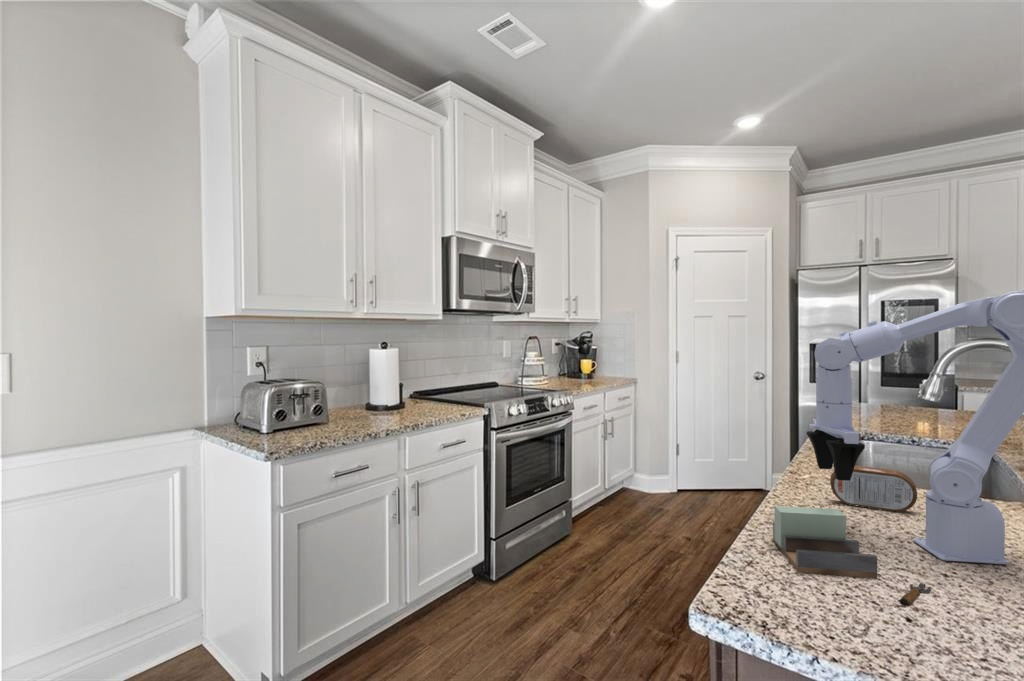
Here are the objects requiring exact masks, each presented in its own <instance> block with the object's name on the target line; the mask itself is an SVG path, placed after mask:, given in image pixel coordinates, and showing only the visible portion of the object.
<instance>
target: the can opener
mask: <svg viewBox="0 0 1024 681" xmlns="http://www.w3.org/2000/svg"><path fill="white" fill-rule="evenodd" d="M909 587H910V588H911V589H910V590H909V591H908V592H907V593H905V594H904V595H903V596H902V597H901V598H900V599H899V603H900V605H903V606H906V607H909V606H910V605H912V604H913V603H915V600H916V599H917V598H918V597H919V596H920V595H921V593H922V594H926V595H930V593H931V591H932V589H933V588H932V587H931V585H930V586H928V587H927V588H926V589H924V587H926V583H924V582H919V584H918V586H917V587H915V586H914V584H911V583H910V584H909Z"/></svg>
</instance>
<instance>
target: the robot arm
mask: <svg viewBox="0 0 1024 681" xmlns="http://www.w3.org/2000/svg"><path fill="white" fill-rule="evenodd" d="M988 325H989V326H990V327H991V328H992V329H993V330H994V331H995V332H996V333H998V334H999V335H1000V336H1001V337H1003V340H1004V341H1005V343H1006V345H1007V347H1008V349H1009V351H1010V352H1011V354H1012V359H1011V360H1010V362H1009V363H1008V365H1006V367H1005V369H1004V370H1003V372H1002V373H1001V374H1000V376H999V378H998V379H997V380H996V382H995V384H993V386H992V387H991V390H990V391H989V392H988V394H987V395H986V397H985V398H984V399H983V401H982V403H981V404H980V406H978V408H977V410H976V412H974V414H973V416H972V417H971V419H970V420H969V422H968V423H967V425H966V426H965V428H964V430H962V432H961V434H960V435H959V437H957V439H956V440H955V441H954V442H953V443H952V444H951V445H950V446H949V448H948V449H947V451H945V452H944V453H943V454H941V455H938V456H937V457H935V458H934V459H932V461H931V462H930V463H929V465H928V475H929V485H930V488H931V489H929V490H926V491H925V538H920V537H919V538H918V537H917V538H916V537H914V538H913V541H912V542H915V543H916V544H917V545H919V546H920V547H922V548H923V549H925V550H926V551H927V552H929V553H930V554H931V555H934V556H935V557H936V558H938V559H940V560H941V561H949V562H965V563H966V562H967V563H979V564H981V563H982V564H993V565H994V564H995V565H1009V561H1008V560H1007V559H1006V558H1005V554H1006V552H1005V551H1006V549H1005V548H1006V547H1005V546H1006V545H1005V544H1006V543H1005V542H1006V541H1005V538H1006V536H1005V535H1006V533H1005V532H1006V531H1005V530H1006V524H1005V520H1004V516H1003V513H1002V512H1001V510H1000V508H998V506H996V504H994V503H993V502H990V501H984V500H983V499H982V498H981V497H980V496H981V494H982V489H983V486H982V483H983V478H984V476H985V475H986V474H987V472H988V470H989V468H990V464H991V461H992V458H993V457H994V455H995V454H996V452H997V451H998V450H999V448H1000V446H1001V445H1002V444H1003V442H1004V441H1005V440H1006V438H1007V437H1008V435H1009V434H1010V432H1011V431H1012V430H1013V429H1014V427H1015V425H1016V424H1017V422H1018V421H1019V420H1020V418H1021V417H1022V415H1024V290H1015V291H1009V292H1007V293H1004V294H1002V295H999V296H997V297H996V295H994V296H988V297H982V298H977V299H974V300H968V301H963V302H960V303H958V304H954V305H952V306H949V307H945V308H943V309H939V310H937V311H934V312H931V313H928V314H926V315H923V316H920V317H916V318H913V319H911V320H908V321H905V322H901V323H899V324H894V323H891V322H888V321H886V320H884V321H880V322H878V321H877V320H873V321H870V322H868V323H867V326H865V327H862V328H859V329H857V330H853V331H852V330H851V331H850V332H846V331H842V332H839V334H838V335H839V338H838V337H828V338H826V339H824V340H823V341H821V342H819V343H818V345H817V346H816V347H815V349H814V359H815V361H816V362H817V365H816V366H817V367H816V379H815V380H816V382H815V392H816V393H815V394H816V395H815V405H816V406H815V407H816V408H815V414H816V415H815V418H812V423H810V424H808V426H809V428H810V429H812V431H809V430H808V431H806V436H807V437H808V438H809V440H810V443H811V446H812V447H813V451H814V456H815V458H816V462H817V467H818V468H819V470H832V469H833V472H835V476H836V479H837V480H846V481H850V480H851V477H852V473H853V470H854V467H855V465H856V464H857V461H858V459H859V457H860V455H861V454H862V453H863V451H864V450H865V448H866V445H865V443H862V442H859V441H860V437H859V435H860V433H859V432H857V431H856V430H855V427H854V426H853V378H852V376H851V375H852V373H851V372H852V370H851V368H852V367H851V365H852V364H851V363H852V362H857V363H863V362H866V361H869V360H872V359H873V360H874V359H876V358H879V357H883V356H886V355H890V354H894V353H897V352H899V351H900V350H901V348H902V347H903V345H904V343H905V342H906V341H910V340H913V339H917V338H920V337H924V336H927V335H931V334H934V333H937V332H938V333H939V332H941V331H947V330H949V329H953V328H956V327H960V326H966V327H968V326H969V327H988ZM850 364H851V365H850ZM813 430H814V431H813Z"/></svg>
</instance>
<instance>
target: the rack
mask: <svg viewBox="0 0 1024 681" xmlns="http://www.w3.org/2000/svg"><path fill="white" fill-rule="evenodd" d="M772 541H773V543H774V544H775V545H776V546H777V547H778V549H779V550H780V551H781V552H782V554H783V555H784V556H785V558H786V559H787V560H788V561H789V563H790V564H791V565H792V566H793V568H794V569H795V570H796V571H797V573H802V574H806V573H807V574H817V575H818V574H819V575H832V576H833V575H834V576H846V577H859V578H872V579H878V556H877V555H876V554H870V553H860V541H859V540H858V539H851V538H850V539H848V538H846V539H835V538H819V537H802V536H786V535H784V548H781V547H780V546H779V545H778V544H777V542H776V541H775V522H773V523H772Z"/></svg>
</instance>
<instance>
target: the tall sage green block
mask: <svg viewBox="0 0 1024 681" xmlns="http://www.w3.org/2000/svg"><path fill="white" fill-rule="evenodd" d="M774 523H775V541H776V542H777V544H778V545H779V546H780V547H781V548H784V535H786V536H802V537H819V538H835V539H847V515H845V513H843V512H842V511H841V510H839V509H838V508H826V507H825V508H822V507H804V506H803V507H801V506H784V505H774Z"/></svg>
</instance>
